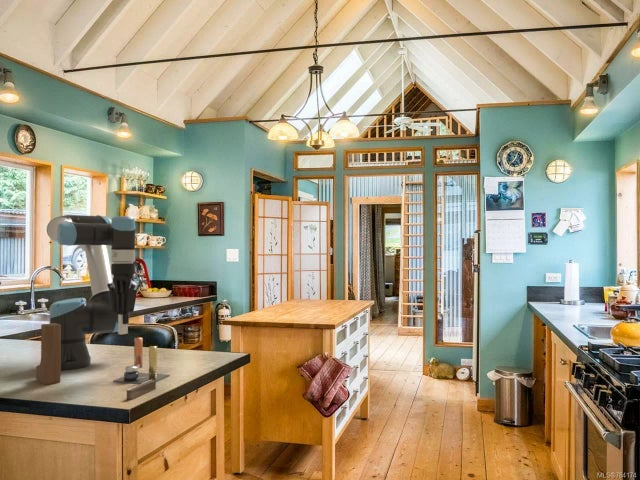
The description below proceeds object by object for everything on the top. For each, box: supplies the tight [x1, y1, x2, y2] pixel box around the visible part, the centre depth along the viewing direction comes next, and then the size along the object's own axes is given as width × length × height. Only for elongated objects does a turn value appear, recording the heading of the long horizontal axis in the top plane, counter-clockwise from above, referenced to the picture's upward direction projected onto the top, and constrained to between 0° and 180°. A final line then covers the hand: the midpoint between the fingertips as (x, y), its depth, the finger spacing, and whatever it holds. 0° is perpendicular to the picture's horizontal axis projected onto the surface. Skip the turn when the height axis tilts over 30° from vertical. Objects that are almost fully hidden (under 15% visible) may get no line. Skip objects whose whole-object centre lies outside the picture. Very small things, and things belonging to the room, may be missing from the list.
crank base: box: [112, 345, 171, 385], centre depth 173 cm, size 13×12×10 cm
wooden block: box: [35, 323, 62, 385], centre depth 170 cm, size 9×4×18 cm, turn 44°
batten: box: [126, 380, 157, 401], centre depth 155 cm, size 2×12×3 cm, turn 165°
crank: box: [125, 337, 144, 373], centre depth 174 cm, size 10×4×10 cm, turn 0°
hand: (123, 333), depth 181 cm, fingers closed
